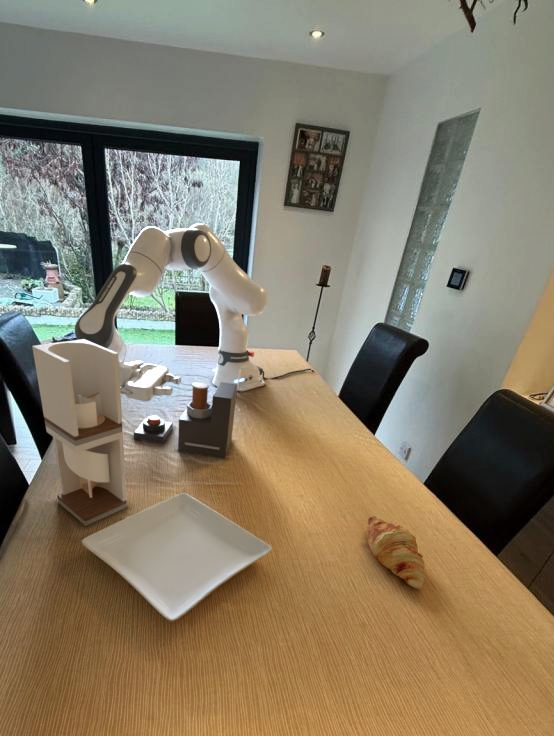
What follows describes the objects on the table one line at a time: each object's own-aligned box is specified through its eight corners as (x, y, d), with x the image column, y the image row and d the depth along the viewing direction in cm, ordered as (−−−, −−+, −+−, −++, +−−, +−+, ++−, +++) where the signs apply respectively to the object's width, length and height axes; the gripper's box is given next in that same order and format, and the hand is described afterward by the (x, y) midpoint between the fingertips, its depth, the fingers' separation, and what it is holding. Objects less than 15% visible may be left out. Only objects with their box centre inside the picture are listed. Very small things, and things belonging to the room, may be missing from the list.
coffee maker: (187, 434, 130) (189, 377, 120) (231, 440, 129) (237, 384, 119) (177, 451, 120) (179, 391, 110) (225, 459, 119) (231, 399, 109)
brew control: (145, 424, 134) (145, 412, 131) (172, 428, 133) (172, 416, 131) (133, 439, 124) (133, 426, 122) (163, 443, 124) (163, 431, 121)
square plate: (272, 560, 85) (275, 546, 83) (170, 637, 68) (171, 621, 65) (183, 502, 99) (183, 488, 97) (80, 553, 82) (78, 537, 80)
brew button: (149, 419, 128) (149, 414, 127) (161, 421, 128) (161, 416, 127) (146, 424, 125) (146, 419, 124) (157, 426, 125) (157, 420, 124)
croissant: (424, 603, 83) (455, 577, 80) (392, 591, 79) (423, 563, 75) (374, 534, 100) (397, 510, 97) (345, 521, 95) (369, 496, 92)
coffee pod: (204, 410, 122) (206, 381, 117) (208, 416, 118) (210, 387, 114) (189, 410, 121) (190, 382, 116) (193, 417, 117) (194, 387, 112)
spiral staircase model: (58, 502, 95) (32, 345, 76) (98, 486, 102) (84, 338, 82) (85, 525, 89) (64, 361, 70) (126, 507, 96) (118, 353, 76)
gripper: (114, 379, 107) (166, 387, 106) (140, 358, 124) (185, 365, 123) (115, 402, 110) (166, 410, 109) (140, 379, 127) (184, 385, 126)
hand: (176, 386), depth 116 cm, fingers open, 8 cm apart
